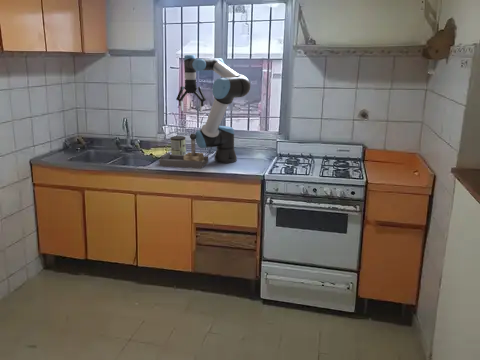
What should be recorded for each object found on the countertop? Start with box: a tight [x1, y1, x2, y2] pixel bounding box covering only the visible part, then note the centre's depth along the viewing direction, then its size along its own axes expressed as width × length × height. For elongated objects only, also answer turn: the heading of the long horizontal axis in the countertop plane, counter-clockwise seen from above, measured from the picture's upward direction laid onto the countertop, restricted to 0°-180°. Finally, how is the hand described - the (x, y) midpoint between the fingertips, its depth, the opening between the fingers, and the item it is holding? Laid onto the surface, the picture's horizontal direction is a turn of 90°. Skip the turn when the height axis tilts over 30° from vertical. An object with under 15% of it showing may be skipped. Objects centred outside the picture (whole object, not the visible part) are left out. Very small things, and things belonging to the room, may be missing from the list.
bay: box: [158, 152, 209, 169], centre depth 292 cm, size 28×16×6 cm, turn 78°
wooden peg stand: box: [184, 133, 204, 161], centre depth 289 cm, size 10×10×19 cm
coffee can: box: [169, 135, 187, 155], centre depth 309 cm, size 10×10×14 cm
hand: (191, 111), depth 304 cm, fingers open, 13 cm apart
